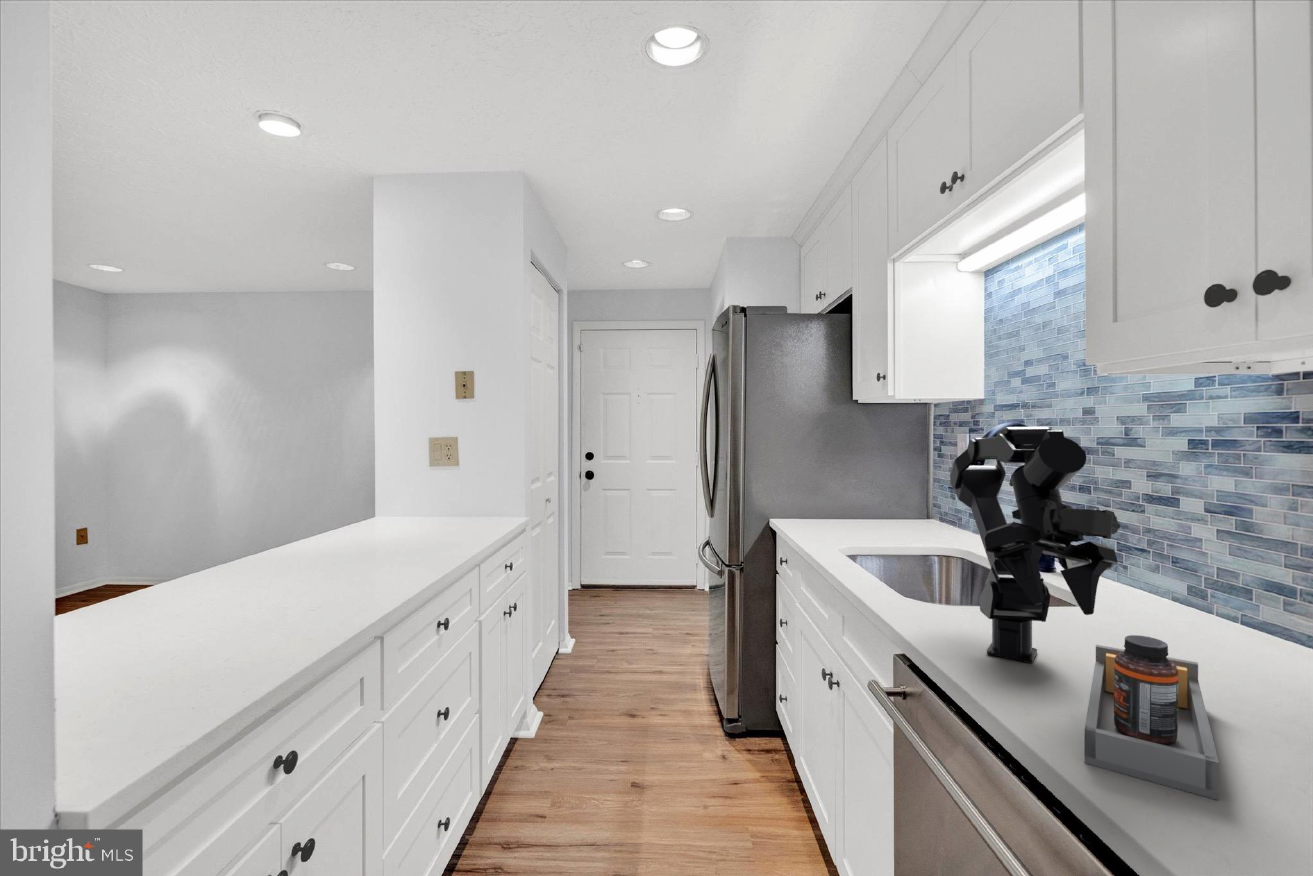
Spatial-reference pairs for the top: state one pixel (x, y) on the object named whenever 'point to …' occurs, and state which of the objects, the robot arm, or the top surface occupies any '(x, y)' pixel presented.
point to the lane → (1169, 764)
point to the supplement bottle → (1146, 691)
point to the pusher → (1181, 678)
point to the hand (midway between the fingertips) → (1064, 609)
